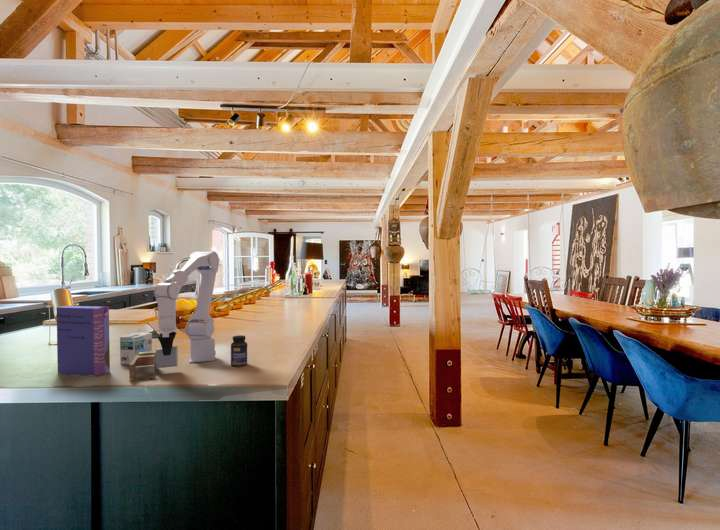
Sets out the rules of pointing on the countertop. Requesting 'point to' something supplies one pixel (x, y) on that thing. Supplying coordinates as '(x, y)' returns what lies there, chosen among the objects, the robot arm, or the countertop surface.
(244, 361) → the pill bottle
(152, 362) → the shelf
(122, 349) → the light bulb box
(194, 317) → the robot arm
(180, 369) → the countertop surface
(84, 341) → the cereal box
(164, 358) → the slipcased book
